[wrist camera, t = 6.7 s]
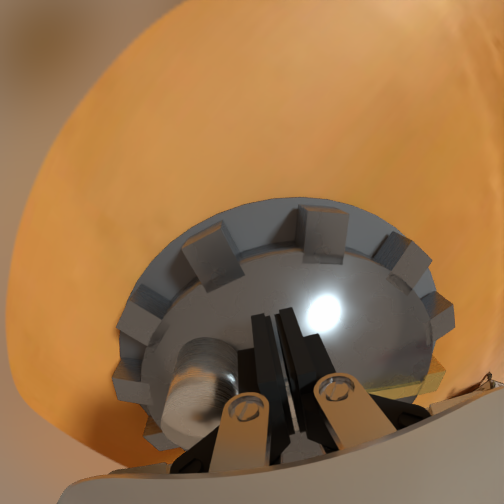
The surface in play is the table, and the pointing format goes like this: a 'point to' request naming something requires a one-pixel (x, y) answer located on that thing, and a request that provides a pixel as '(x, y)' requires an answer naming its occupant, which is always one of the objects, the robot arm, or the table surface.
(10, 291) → the table surface
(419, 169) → the table surface
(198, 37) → the table surface
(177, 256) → the mat
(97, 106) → the table surface
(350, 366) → the grey dial
